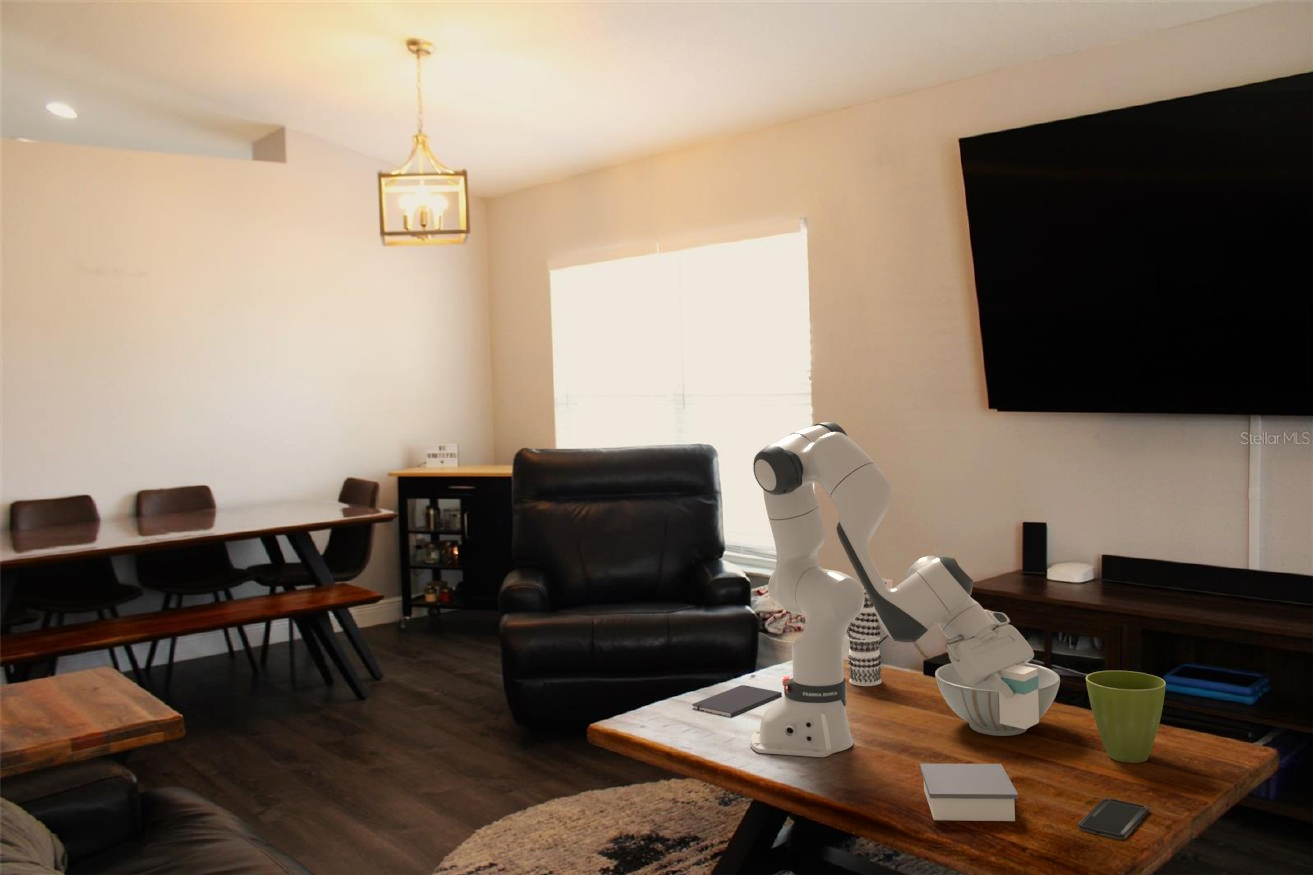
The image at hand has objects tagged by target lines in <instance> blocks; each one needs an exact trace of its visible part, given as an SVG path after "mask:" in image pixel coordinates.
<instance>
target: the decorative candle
mask: <svg viewBox="0 0 1313 875" xmlns="http://www.w3.org/2000/svg"><path fill="white" fill-rule="evenodd" d="M862 587H863V590H864V595H865V600H864V606H863V609H862V611H861V613H860V614H859V615H858V616H857V617H856V618H855V619H854V620H853V621H852V622H851V623H850V625H849V627H848V629H847V632H846V635H847V639H848V640H849V648H848V651H849V652H848V654H849V655H848V657H847V658H848V660H849V661H848V665H849V667H848V672H849V673H848V677H849V678H850V679H849V680H848V681H849V683H850V684H852V685H854V686H859V687H861V686H862V687H874V686H878V685H880V684H882V679H881V678H882V670H883V669H882V668H881V667H880V666H881V665H882V661H881V659H882V656H881V655H880V648H879V640H880V639H881V636H880V635H881V631H879V630H880V629H881V625H879V624H878V623H879V621H878V618H877V615H876V612H875V609H874V606H873V603H872V601H871V599H870V598H869V596H868V594H867V592H866V590H865V588H864V586H862Z"/></svg>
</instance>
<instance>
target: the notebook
mask: <svg viewBox="0 0 1313 875" xmlns="http://www.w3.org/2000/svg"><path fill="white" fill-rule="evenodd" d="M782 694H783V693H782V692H781V691H777V690H771V689H766V688H761V687H755V686H751V685H745V684H742V685H738V686H736V687H733V688H731V689H728V690H725V691H723V692H720V693H717V694H714V695H713V696H709V697H707V698H705V699H702V700H699V701H696V702H694V703H692V708H695V709H694V710H697V709H698V710H697V711H701V710H704V711H703V712H706V711H708V712H707V713H710V712H712V713H711V714H716V715H719V714H722V715H721V716H724V715H726V716H725V717H729V718H733V717H735V716H738V715H740V714H743V713H745V712H747V711H750V710H752V709H755V708H757V707H760V706H761V705H764V704H766V703H768V702H771V701H774V700H776V699H779V698H780V697H781V698H782V696H783V695H782Z"/></svg>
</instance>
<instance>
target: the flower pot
mask: <svg viewBox="0 0 1313 875" xmlns="http://www.w3.org/2000/svg"><path fill="white" fill-rule="evenodd" d="M1085 681H1086V682H1085V683H1086V690H1087V693H1088V697H1089V698H1088V699H1089V703H1090V707H1091V710H1092V715H1093V717H1094V722H1095V725H1096V728H1097V730H1098V733H1099V737H1100V739H1101V742H1102V744H1103V746H1104V748H1105V752H1106V754H1107V756H1108V758H1110V759H1112V760H1114V761H1117V762H1121V763H1128V764H1129V763H1130V764H1134V763H1135V764H1136V763H1137V764H1138V763H1144V762H1146V761H1147V760H1148V759H1149V756H1150V754H1151V751H1152V748H1153V746H1154V743H1155V739H1156V737H1157V734H1158V729H1159V727H1160V726H1159V725H1160V724H1161V723H1160V722H1161V717H1162V712H1163V706H1164V702H1165V701H1164V700H1165V695H1166V684H1167V683H1166V681H1165V680H1164V679H1163V678H1161V677H1159V676H1156V675H1153V674H1148V673H1145V672H1138V671H1130V670H1129V671H1128V670H1102V671H1096V672H1095V671H1094V672H1092V673H1089V674H1087V675H1086V677H1085Z"/></svg>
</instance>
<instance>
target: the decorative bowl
mask: <svg viewBox="0 0 1313 875" xmlns="http://www.w3.org/2000/svg"><path fill="white" fill-rule="evenodd" d="M1024 666H1026V667H1032V668H1037V669H1038V688H1039V689H1038V702H1039V719H1041V718H1042V717H1043V716H1044V715H1045V714H1046V713H1047V711H1048V710H1049V709H1050V708H1051V706H1052V705H1053V702H1054V701H1055V699H1056V696H1057V694H1058V691H1059V688H1060V683H1061V678H1060V675H1059V674H1058V673H1056V672H1055V670H1052V669H1050V668H1048V667H1044V666H1041V665H1038V664H1034V663H1029V662H1028V663H1027V664H1025V665H1024ZM934 675H935V676H934V677H935V680H936V683H937V685H938V689H939V691H940V693H941V695H942V697H943V699H944V700H945V702H946V704H947V705H948V706H949V708H950V709H951V710H952V711H953V712H954V713H955V715H957V716H959V718H961V719H963V721H966V722H967V723H969V728H971V729H972V731H975V732H977V733H979V734H984V735H989V736H996V737H1000V736H1001V737H1007V736H1009V737H1011V736H1017V735H1021V734H1024V733H1025V732H1026V731H1027V730H1028V728H1027V729H1021V728H1017V727H1013V726H1008V725H1004V724H1000V713H999V691H998V690H996V689H995V688H993V687H992V686H990V685H989V683H988V682H987V681H985V682H982V683H980V684H977V685H975V686H970V685H968V684H967V683H965V682H964V680H963V679H962V678H961V676H960V675H959V673H958V672H957V670H956V669H955V667H954V666H953V664H952V662H951V663H947V664H944V665H942V666H940V667H938V668H937V669H936V670H935V673H934Z"/></svg>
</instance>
